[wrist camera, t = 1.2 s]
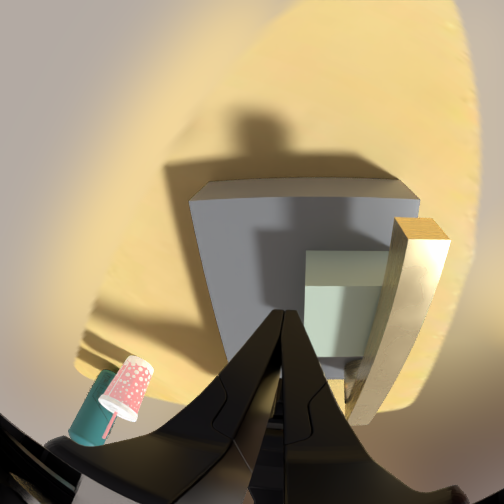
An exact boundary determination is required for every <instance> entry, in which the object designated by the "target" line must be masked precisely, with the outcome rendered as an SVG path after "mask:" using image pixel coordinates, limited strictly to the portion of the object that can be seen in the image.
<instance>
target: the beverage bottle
mask: <svg viewBox="0 0 504 504" xmlns="http://www.w3.org/2000/svg"><path fill="white" fill-rule="evenodd" d="M99 373H100V374H99V376H98V377H97V379H96V381H95V383H94V384H93V385H92V388H91V390H90V392H89V393H88V395H87V397H86V399H85V401H84V403H83V405H82V407H81V409H80V410H79V412H78V414H77V416H76V418H75V420H74V421H73V423H72V425H71V427H70V429H69V430H68V432H69V436H70V438H71V440H73V441H75V442H76V443H78V444H80V445H84V446H100V445H104V442H105V440H106V438H107V436H108V435H109V433H110V431H111V428H112V427H113V424H114V422H115V420H114V422H113V424H112V426H111V428H110V430H109V432H108V434H107V436H106V438H105V439H103V438H102V436H103V434H104V432H105V430H106V428H107V426H108V424H109V422H110V420H111V418H112V416H113V413H112V412H110V411H109V410H107V409H106V408H105V407H104V406H102V405H101V403H100V402H99V400H98V399H99V398H100V396H101V395H102V394H104V392H105V391H106V389H107V388H108V386H109V385H110V383H111V382H112V380H113V379H114V377H115V376H116V373H114V372H112V371H109V370H102V371H101V372H99ZM116 418H117V415H116V417H115V419H116Z"/></svg>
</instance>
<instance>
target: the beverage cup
mask: <svg viewBox="0 0 504 504" xmlns="http://www.w3.org/2000/svg"><path fill="white" fill-rule="evenodd" d="M153 371H154V370H153V367H152V366H151V365H150V364H149V363H148V362H146V361H145V360H143V359H142V358H140V357H137V356H131V355H130V356H129V357H128V358H127V359H126V361H125V362H124V363H123V365H122V366H121V368H120V369H119V371H118V372H117V374H116V376H115V377H114V379H113V380H112V382H111V383H110V385H109V386H108V388H107V389H106V391H105V392H104V394H102V395H101V396H100V398H99V399H98V400H99V402H100V403H101V405H102V406H104V407H105V408H106V409H107V410H109V411H110V412H112V413H113V416H112V418H111V420H110V422H109V424H108V426H107V428H106V430H105V432H104V434H103V436H102V438H103V439H105V438H106V436H107V434H108V432H109V430H110V428H111V426H112V424H113V422H114V420H115V417H116V415H117V416H119V417H121V418H123V419H126V420H128V421H132V422H136V420H137V417H138V415H137V413H138V410H139V407H140V405H141V402H142V400H143V397H144V395H145V392H146V389H147V387H148V384H149V382H150V379H151V377H152V374H153Z"/></svg>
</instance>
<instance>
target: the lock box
mask: <svg viewBox="0 0 504 504" xmlns="http://www.w3.org/2000/svg"><path fill="white" fill-rule="evenodd" d="M419 205H420V199H419V198H418V197H417V196H416V195H415V194H414V193H413V192H412V191H411V190H410V189H409V188H408V187H407V186H406V185H405V184H404V183H403V182H402V181H401V180H394V179H374V178H340V177H298V178H263V179H242V180H226V181H213V182H208V183H207V184H206V185H205V186H204V187H203V188H202V189H201V190H200V191H199V192H197V193H196V194H195V195H194V196H193V197H192V198H191V199H190V200H189V206H190V211H191V216H192V221H193V225H194V230H195V235H196V239H197V244H198V248H199V253H200V257H201V261H202V265H203V270H204V274H205V278H206V282H207V286H208V290H209V294H210V298H211V302H212V306H213V310H214V313H215V317H216V321H217V325H218V328H219V332H220V336H221V339H222V343H223V346H224V350H225V353H226V357H227V360H228V363H229V361H230V360H231V359H232V358H233V357H234V356H235V354H236V353H237V352H238V351H239V350H240V348H241V347H242V346H243V345H244V344H245V343H246V341H247V340H248V339H249V338H250V336H251V335H252V334H253V333H254V332H255V330H256V329H257V328H258V327H259V326H260V324H261V323H262V322H263V321H264V319H265V318H266V317H267V316H268V314H269V313H270V312H271V311H272V310H273V309H283V310H284V311H285V310H297V311H298V313H299V316H300V318H301V320H302V323H303V325H304V309H305V272H306V250H307V251H389V249H390V243H391V236H392V230H393V222H394V217H408V218H418V212H419ZM362 358H363V356H355V357H318V360H319V362H320V364H321V367H322V369H323V371H324V374H325V376H326V379H344V366H345V365H346V364H347V363H349V362H351V361H354V360H362ZM279 378H282V368H281V373H280V377H279Z"/></svg>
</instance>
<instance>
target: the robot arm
mask: <svg viewBox="0 0 504 504" xmlns="http://www.w3.org/2000/svg"><path fill="white" fill-rule="evenodd" d="M281 368H282V378H279V377H280V373H281ZM218 375H219V376H216V377H215V379H214V380H213V381H212V382H211V383H210V384H209V385H208V386H207V387H206V388H205V389H204V391H203V392H202V393H201V394H200V395H198V396H197V397H196V398H195V399H194V400H193V401H192V402H191V403H190V404H188V405H187V406H186V407H185V408H184V409H182V410H181V411H180V412H179V413H178V414H177V415H175V416H174V417H173V418H172V419H170V420H169V421H168V422H167V423H165V424H164V425H163V426H161V427H160V428H158V429H157V430H155V431H153V432H151V433H149V434H146V435H143V436H139V437H136V438H132V439H127V440H123V441H119V442H114V443H110V444H105V445H100V446H84V445H80V444H78V443H76V442H75V441H73V440H71V439H70V438H68V437H66V436H61V437H57V438H54V439H52V440H50V441H48V442H47V443H46V444H45V445H44V447H43V446H42V445H41V444H39V443H38V442H36V441H35V440H33V439H32V438H31V437H29V436H28V435H27V434H25V433H24V432H23V431H21V430H20V429H19V428H18V427H16V426H15V425H14V424H13V423H11V422H10V421H9V420H8V419H7V418H6V417H4V416H3V415H2V414H1V413H0V504H242V503H243V500H244V497H245V494H246V491H247V488H248V490H249V492H250V494H251V496H252V498H253V500H254V504H470V502H469V499H468V497H467V496H466V494H464V492H463V491H462V490H461V489H460V487H459V486H458V485H452V486H449V487H446V488H442V489H439V490H436V491H433V492H427V493H425V492H418V491H415V490H413V489H411V488H410V487H408V486H407V485H405V484H404V483H403V482H401V481H400V480H399V479H397V478H396V477H395V476H393V475H392V474H391V473H390V472H388V471H387V470H386V469H384V468H383V467H382V466H381V465H379V464H378V463H377V462H376V461H375V460H373V459H372V457H371V456H370V455H369V454H368V452H367V451H366V450H365V448H364V447H363V445H362V444H361V442H360V440H359V439H358V437H357V436H356V434H355V433H354V431H353V429H352V428H351V426H350V424H349V423H348V421H347V419H346V418H345V416H344V414H343V412H342V411H341V409H340V407H339V405H338V403H337V401H336V399H335V397H334V395H333V392H332V390H331V388H330V385H329V383H328V381H327V379H326V376H325V374H324V371H323V369H322V367H321V364H320V362H319V360H318V357H317V355H316V353H315V350H314V348H313V346H312V343H311V341H310V339H309V336H308V334H307V332H306V330H305V327H304V325H303V323H302V320H301V318H300V316H299V313H298V311H297V310H285V311H284V310H283V309H273V310H272V311H271V312H270V313H269V314H268V316H267V317H266V318H265V319H264V321H263V322H262V323H261V324H260V326H259V327H258V328H257V329H256V330H255V332H254V333H253V334H252V335H251V336H250V338H249V339H248V340H247V341H246V343H245V344H244V345H243V346H242V347H241V348H240V350H239V351H238V352H237V353H236V354H235V356H234V357H233V358H232V359H231V360H230V361H229V363H228V364H227V365H226V366H225V367H224V368H223V370H222V371H221V372H220V373H219V374H218ZM473 504H504V488H503V489H501V490H499V491H497V492H496V493H493V494H491V495H489V496H487V497H485V498H483V499H481V500H479V501H477V502H475V503H473Z"/></svg>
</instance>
